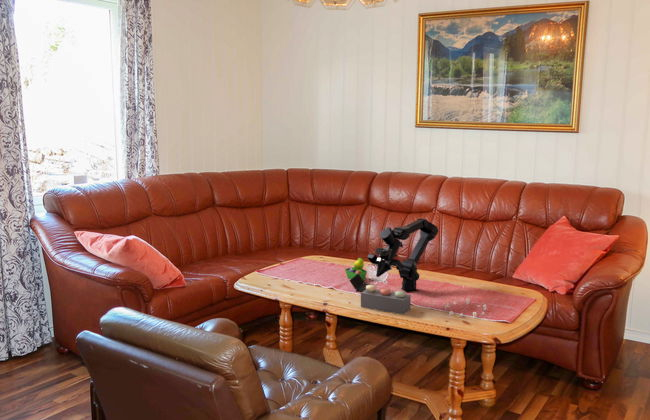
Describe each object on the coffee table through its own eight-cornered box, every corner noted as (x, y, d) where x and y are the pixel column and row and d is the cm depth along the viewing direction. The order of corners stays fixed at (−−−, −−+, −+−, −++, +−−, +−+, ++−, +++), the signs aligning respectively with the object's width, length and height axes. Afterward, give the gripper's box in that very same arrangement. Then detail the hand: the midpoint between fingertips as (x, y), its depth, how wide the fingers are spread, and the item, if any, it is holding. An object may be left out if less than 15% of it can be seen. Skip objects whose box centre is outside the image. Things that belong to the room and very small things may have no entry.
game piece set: (454, 300, 281) (454, 293, 280) (494, 309, 269) (494, 301, 268) (435, 312, 266) (435, 304, 266) (476, 322, 254) (476, 314, 253)
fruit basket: (344, 278, 319) (343, 258, 317) (356, 274, 324) (356, 255, 322) (357, 283, 310) (356, 262, 308) (369, 279, 315) (369, 259, 313)
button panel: (360, 306, 275) (360, 292, 273) (368, 301, 281) (368, 288, 280) (403, 314, 264) (403, 300, 262) (410, 309, 270) (410, 294, 269)
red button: (387, 296, 275) (387, 287, 274) (392, 299, 270) (392, 290, 270) (378, 297, 273) (378, 289, 272) (383, 300, 269) (383, 292, 268)
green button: (402, 298, 271) (402, 290, 270) (407, 301, 267) (407, 293, 266) (393, 300, 269) (393, 291, 268) (398, 303, 265) (398, 294, 264)
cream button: (373, 292, 278) (373, 284, 278) (377, 295, 274) (377, 287, 273) (364, 293, 277) (364, 285, 276) (368, 296, 272) (368, 288, 271)
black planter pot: (372, 290, 293) (359, 272, 295) (360, 298, 295) (347, 281, 297) (377, 285, 305) (364, 268, 307) (365, 294, 307) (353, 277, 309)
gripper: (369, 237, 284) (354, 264, 278) (399, 243, 271) (384, 271, 265) (379, 250, 291) (365, 276, 285) (409, 256, 278) (395, 284, 272)
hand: (377, 276), depth 277 cm, fingers closed
